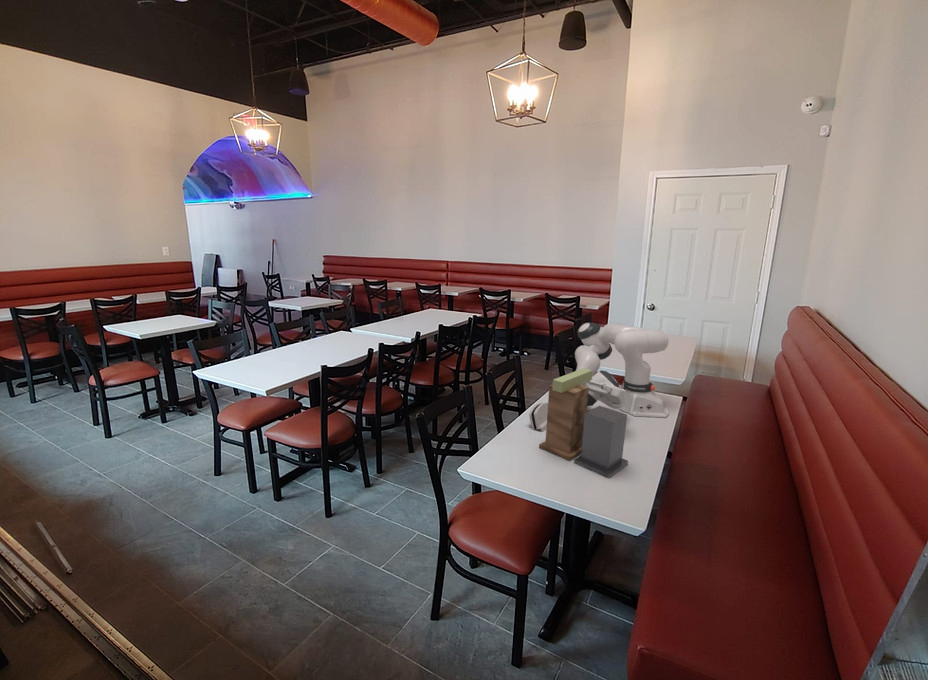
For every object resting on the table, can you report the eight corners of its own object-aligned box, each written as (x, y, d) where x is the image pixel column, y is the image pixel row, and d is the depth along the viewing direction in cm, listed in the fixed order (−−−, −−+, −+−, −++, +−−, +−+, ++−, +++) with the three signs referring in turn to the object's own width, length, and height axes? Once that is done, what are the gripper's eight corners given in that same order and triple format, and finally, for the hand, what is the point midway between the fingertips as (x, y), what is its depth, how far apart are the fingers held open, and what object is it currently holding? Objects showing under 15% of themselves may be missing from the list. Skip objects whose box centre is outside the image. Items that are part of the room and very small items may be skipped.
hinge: (542, 432, 189) (536, 410, 189) (532, 433, 192) (526, 411, 192) (558, 419, 203) (552, 398, 202) (548, 420, 206) (543, 399, 205)
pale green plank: (582, 377, 180) (583, 368, 179) (591, 380, 177) (592, 370, 176) (552, 389, 166) (553, 379, 165) (561, 392, 163) (562, 382, 162)
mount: (593, 450, 175) (598, 403, 170) (627, 464, 165) (633, 414, 160) (574, 463, 165) (578, 413, 160) (608, 478, 155) (614, 425, 150)
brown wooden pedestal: (559, 436, 186) (563, 377, 179) (589, 448, 176) (595, 386, 170) (539, 447, 176) (542, 385, 170) (569, 461, 166) (574, 395, 160)
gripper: (587, 379, 200) (573, 370, 190) (630, 392, 186) (617, 382, 176) (582, 392, 199) (568, 384, 190) (625, 406, 185) (612, 397, 175)
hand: (592, 383), depth 183 cm, fingers open, 8 cm apart
